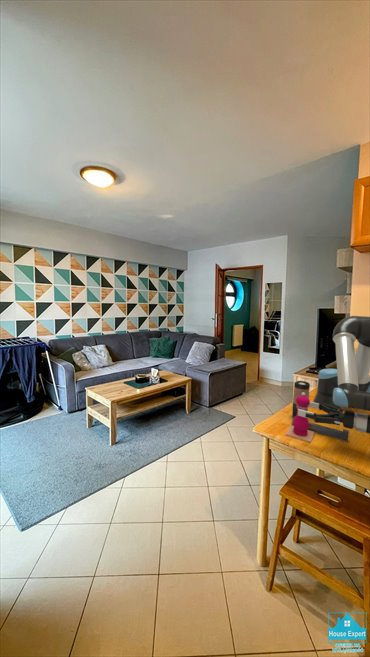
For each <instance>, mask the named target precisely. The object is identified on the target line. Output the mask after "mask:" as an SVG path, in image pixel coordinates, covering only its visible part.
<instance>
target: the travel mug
mask: <svg viewBox="0 0 370 657" xmlns="http://www.w3.org/2000/svg"><path fill="white" fill-rule="evenodd" d="M310 385H311V384H310V383H309V382H307V381H303V380H297V381H294V385H293V386H294V387H293V396H292V412H291V413H292V415H291V416H292V417H293V416H296V415H297V403H296V398H297V397H298V396H299V395H301V393H303V392H304V393H305V396H307V397H308V398H309V399H310ZM307 411H308V412H309V409H308V410H307Z"/></svg>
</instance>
